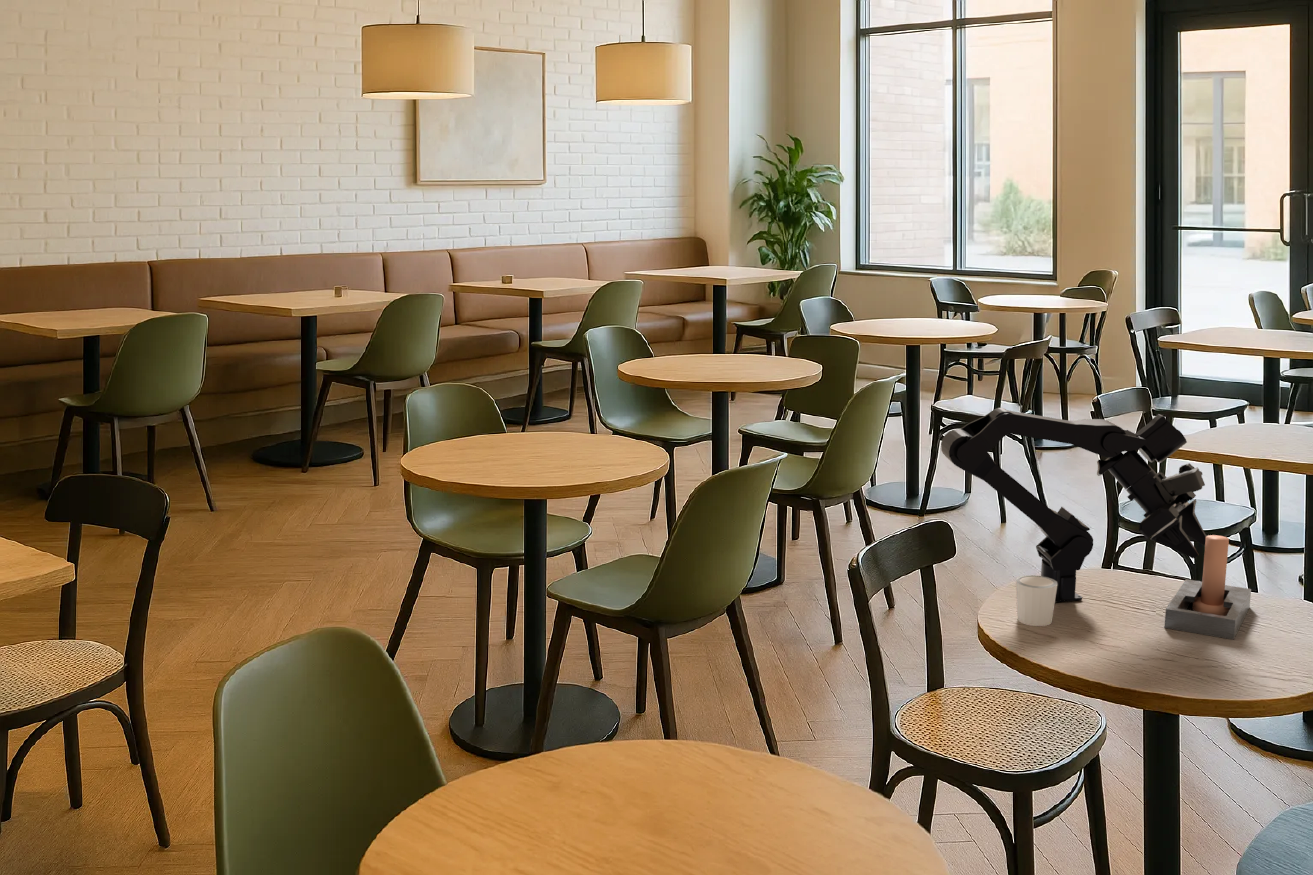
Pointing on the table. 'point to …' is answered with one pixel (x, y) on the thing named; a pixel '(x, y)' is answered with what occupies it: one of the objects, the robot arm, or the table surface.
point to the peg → (1213, 577)
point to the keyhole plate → (1207, 622)
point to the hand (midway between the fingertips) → (1201, 550)
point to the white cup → (1035, 599)
